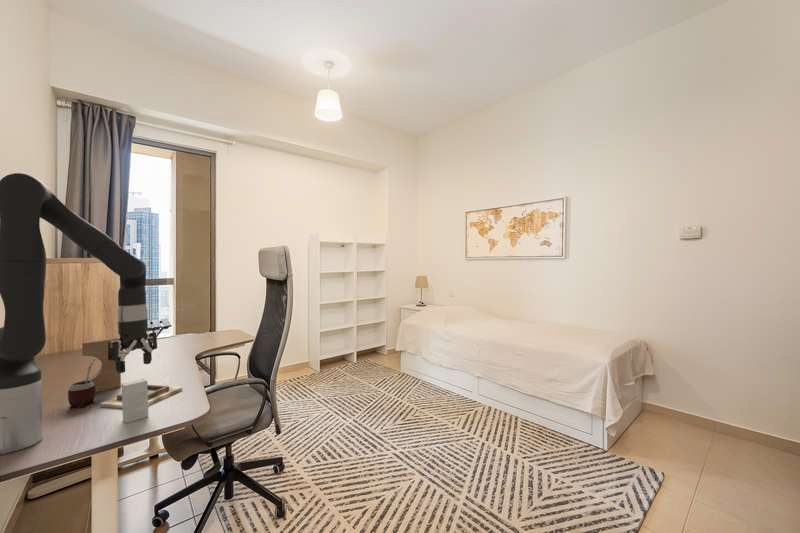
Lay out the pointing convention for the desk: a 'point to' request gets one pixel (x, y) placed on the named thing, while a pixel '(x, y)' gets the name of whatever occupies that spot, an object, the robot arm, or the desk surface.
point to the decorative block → (107, 373)
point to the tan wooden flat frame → (153, 395)
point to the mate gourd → (82, 392)
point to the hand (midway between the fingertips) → (134, 368)
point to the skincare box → (135, 400)
